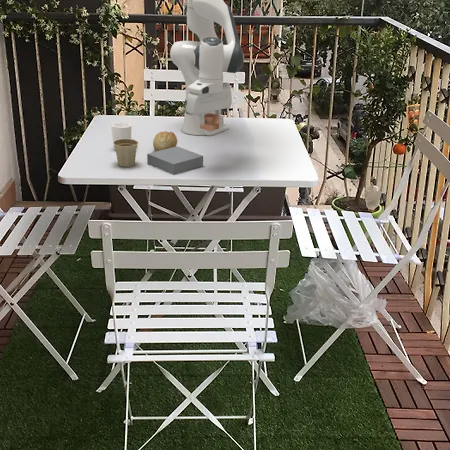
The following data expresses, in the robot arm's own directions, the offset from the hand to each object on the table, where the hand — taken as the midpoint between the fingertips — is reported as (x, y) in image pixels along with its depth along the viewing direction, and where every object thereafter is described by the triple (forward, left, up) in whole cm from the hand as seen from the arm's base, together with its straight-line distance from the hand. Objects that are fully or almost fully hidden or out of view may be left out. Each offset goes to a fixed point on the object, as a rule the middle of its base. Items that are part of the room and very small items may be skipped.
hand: (209, 122), depth 217 cm
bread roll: (+1, -24, -17) cm, 29 cm away
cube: (0, 0, -2) cm, 2 cm away
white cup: (+13, -37, -17) cm, 43 cm away
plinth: (+9, -9, -17) cm, 21 cm away
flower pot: (+23, -21, -17) cm, 35 cm away
